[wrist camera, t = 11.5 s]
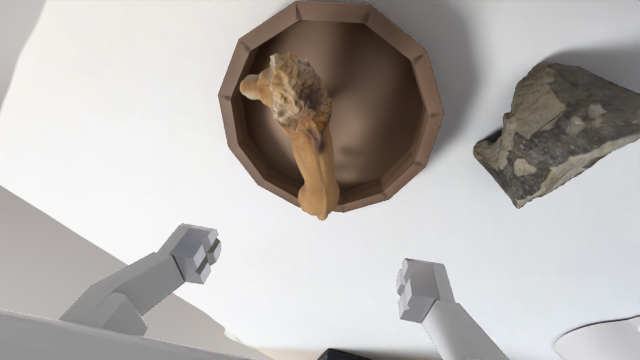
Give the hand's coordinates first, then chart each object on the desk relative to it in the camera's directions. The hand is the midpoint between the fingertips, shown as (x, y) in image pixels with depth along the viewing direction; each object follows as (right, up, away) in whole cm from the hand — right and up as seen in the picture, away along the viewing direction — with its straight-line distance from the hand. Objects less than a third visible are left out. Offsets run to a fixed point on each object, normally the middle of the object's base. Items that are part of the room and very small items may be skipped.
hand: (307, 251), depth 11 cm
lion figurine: (-2, +7, +13) cm, 14 cm away
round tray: (+1, +9, +13) cm, 16 cm away
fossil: (+20, +8, +12) cm, 24 cm away
